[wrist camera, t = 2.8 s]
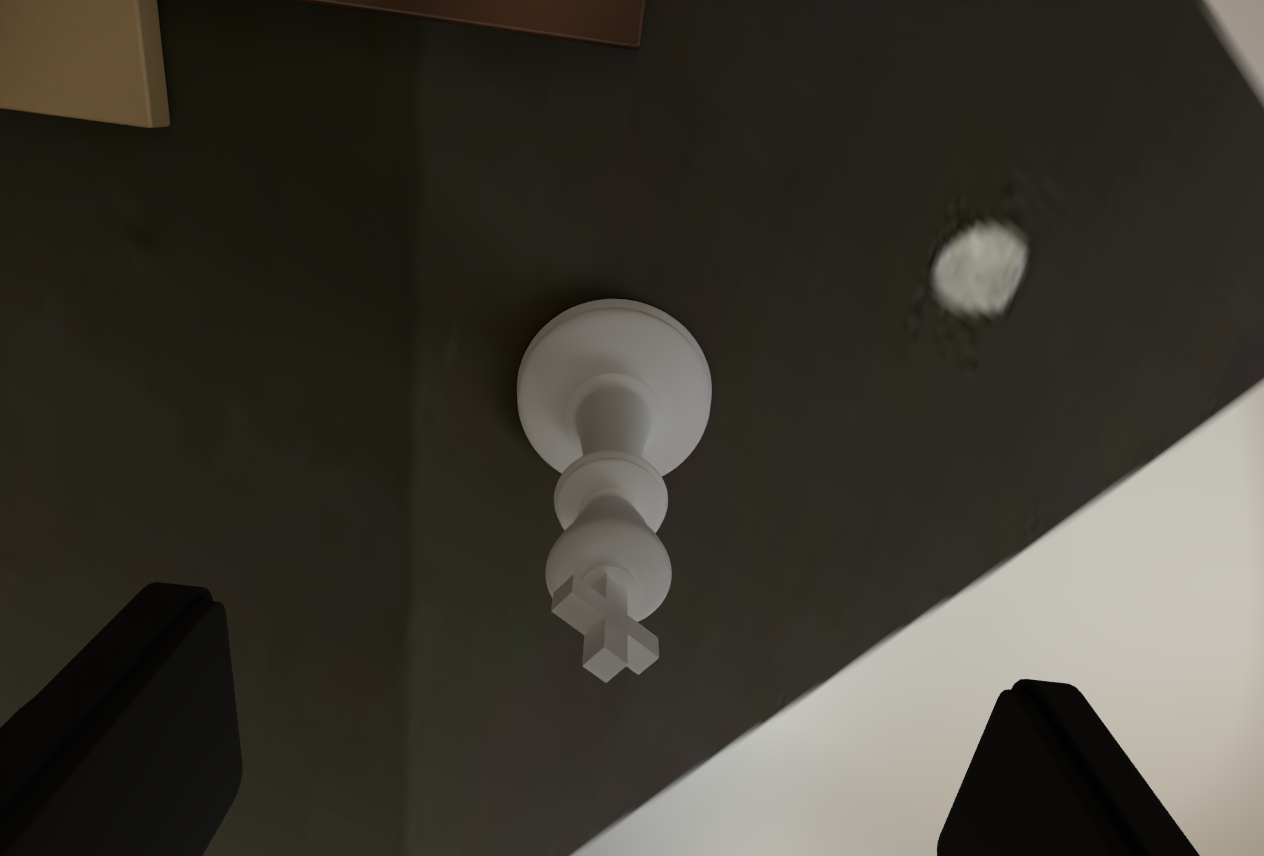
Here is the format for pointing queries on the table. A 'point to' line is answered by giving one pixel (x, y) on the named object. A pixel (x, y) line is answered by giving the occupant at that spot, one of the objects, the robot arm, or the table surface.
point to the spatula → (133, 59)
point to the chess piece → (612, 463)
